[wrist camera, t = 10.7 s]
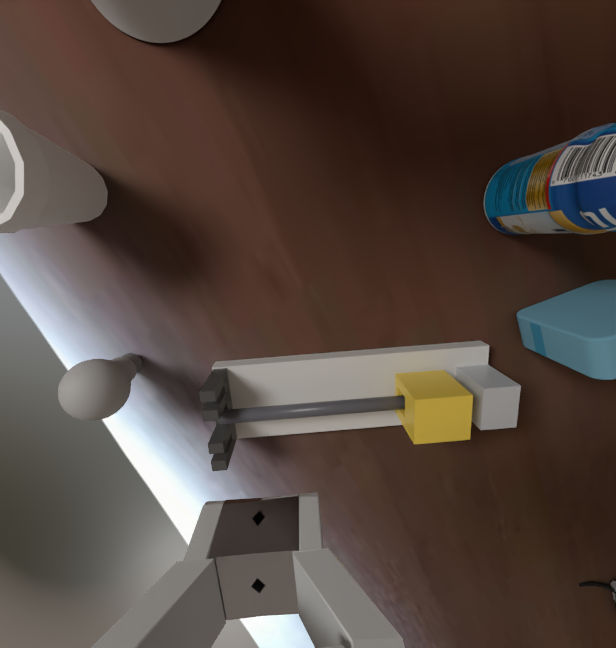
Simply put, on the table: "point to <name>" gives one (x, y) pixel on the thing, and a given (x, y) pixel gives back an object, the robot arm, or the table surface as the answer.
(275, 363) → the board
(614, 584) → the bike brake
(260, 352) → the table surface
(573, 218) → the beverage bottle
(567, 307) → the data package
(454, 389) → the sleeve
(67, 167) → the foam cup
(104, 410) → the lightbulb
